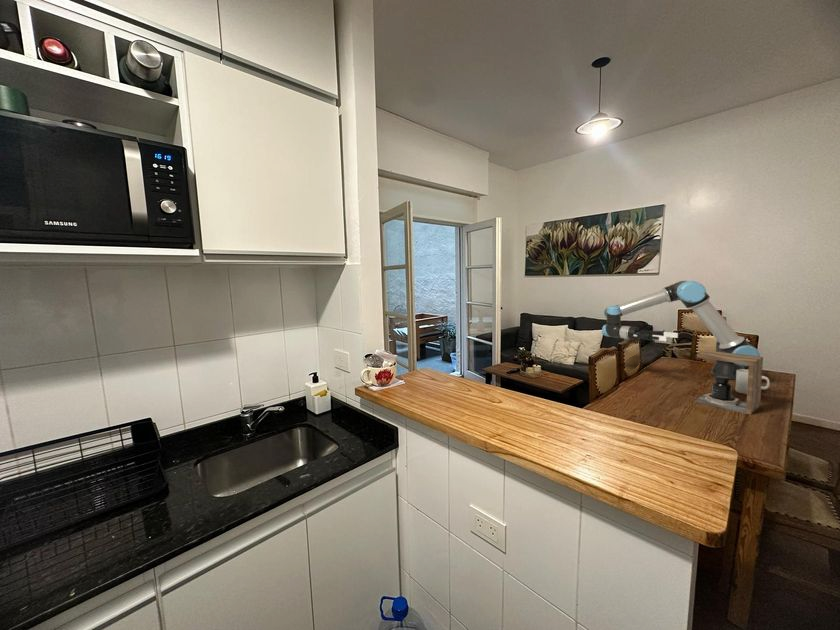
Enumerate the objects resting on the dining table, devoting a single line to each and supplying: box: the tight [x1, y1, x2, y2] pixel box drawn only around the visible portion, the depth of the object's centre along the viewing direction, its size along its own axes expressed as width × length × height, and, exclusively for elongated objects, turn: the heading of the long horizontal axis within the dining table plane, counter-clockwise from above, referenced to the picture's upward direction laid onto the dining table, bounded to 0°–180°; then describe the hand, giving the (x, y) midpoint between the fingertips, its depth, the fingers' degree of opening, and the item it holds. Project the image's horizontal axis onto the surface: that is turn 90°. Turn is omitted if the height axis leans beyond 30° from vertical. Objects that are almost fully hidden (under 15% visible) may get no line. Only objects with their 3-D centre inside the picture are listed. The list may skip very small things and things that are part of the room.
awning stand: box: [694, 349, 764, 415], centre depth 152 cm, size 13×20×24 cm, turn 32°
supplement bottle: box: [711, 376, 733, 401], centre depth 154 cm, size 7×7×12 cm
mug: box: [735, 368, 771, 395], centre depth 165 cm, size 12×8×11 cm
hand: (672, 337), depth 176 cm, fingers open, 13 cm apart
